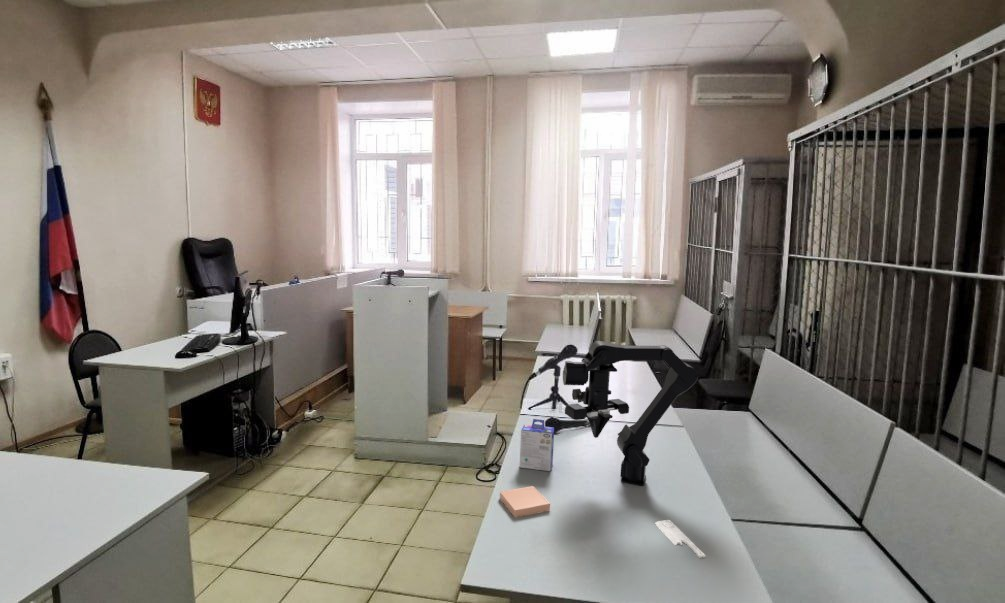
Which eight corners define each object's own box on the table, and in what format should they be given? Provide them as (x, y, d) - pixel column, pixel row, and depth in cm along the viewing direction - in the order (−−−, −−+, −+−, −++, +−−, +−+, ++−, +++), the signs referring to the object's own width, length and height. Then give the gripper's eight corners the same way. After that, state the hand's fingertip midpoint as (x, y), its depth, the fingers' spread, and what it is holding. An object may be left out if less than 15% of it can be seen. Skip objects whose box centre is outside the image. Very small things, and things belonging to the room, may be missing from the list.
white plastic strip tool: (685, 561, 119) (685, 556, 118) (651, 525, 133) (652, 521, 133) (705, 558, 120) (705, 553, 120) (670, 523, 134) (670, 518, 134)
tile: (533, 485, 146) (499, 491, 142) (550, 503, 137) (515, 510, 133) (532, 494, 147) (499, 500, 143) (549, 512, 138) (514, 519, 134)
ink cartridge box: (553, 464, 165) (555, 419, 163) (551, 472, 159) (553, 426, 158) (522, 460, 167) (523, 416, 165) (519, 468, 161) (520, 422, 159)
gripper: (609, 375, 163) (606, 423, 165) (556, 380, 155) (554, 431, 158) (631, 385, 153) (628, 437, 155) (576, 391, 145) (573, 445, 147)
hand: (595, 437), depth 154 cm, fingers closed
